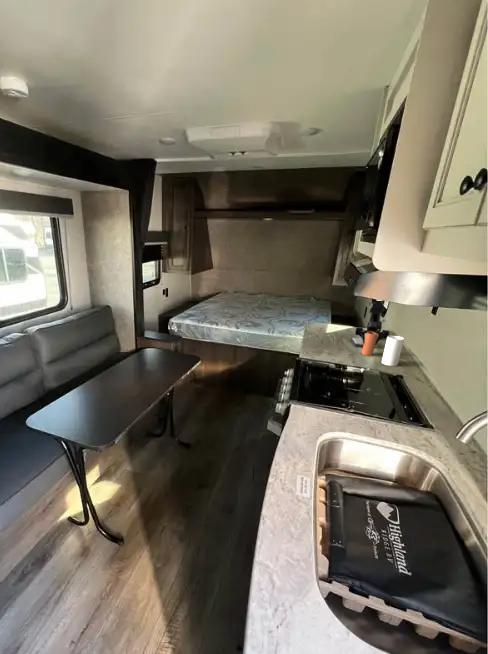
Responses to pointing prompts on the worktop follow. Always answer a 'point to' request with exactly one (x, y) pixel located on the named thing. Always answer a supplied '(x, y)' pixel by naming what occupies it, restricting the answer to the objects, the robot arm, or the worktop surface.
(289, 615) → the worktop surface
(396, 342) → the cup
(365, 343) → the orange cylinder
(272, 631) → the worktop surface
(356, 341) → the scale
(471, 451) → the worktop surface
